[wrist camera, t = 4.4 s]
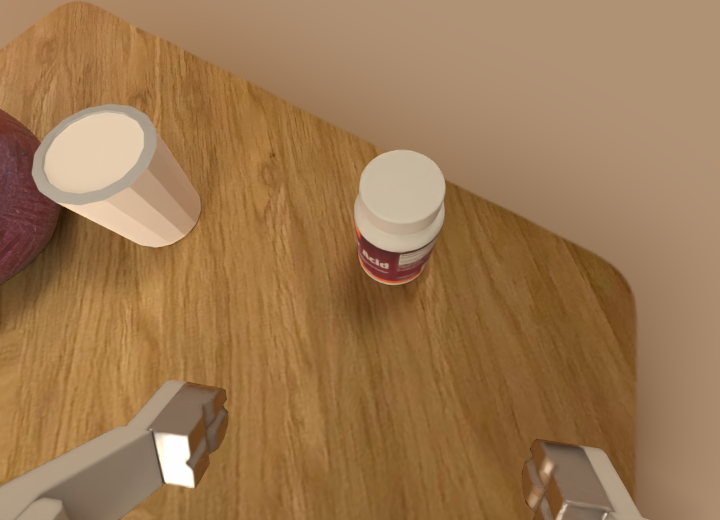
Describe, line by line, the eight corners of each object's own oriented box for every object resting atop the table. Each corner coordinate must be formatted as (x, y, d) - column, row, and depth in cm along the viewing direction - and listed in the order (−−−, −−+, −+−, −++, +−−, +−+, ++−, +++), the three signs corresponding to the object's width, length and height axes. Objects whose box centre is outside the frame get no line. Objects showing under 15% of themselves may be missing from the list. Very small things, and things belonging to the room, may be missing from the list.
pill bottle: (345, 244, 25) (331, 171, 17) (402, 211, 26) (414, 126, 18) (382, 300, 23) (387, 249, 15) (442, 263, 24) (475, 196, 16)
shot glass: (108, 193, 27) (24, 126, 20) (196, 160, 28) (142, 86, 21) (124, 271, 25) (35, 224, 18) (220, 232, 25) (168, 174, 19)
